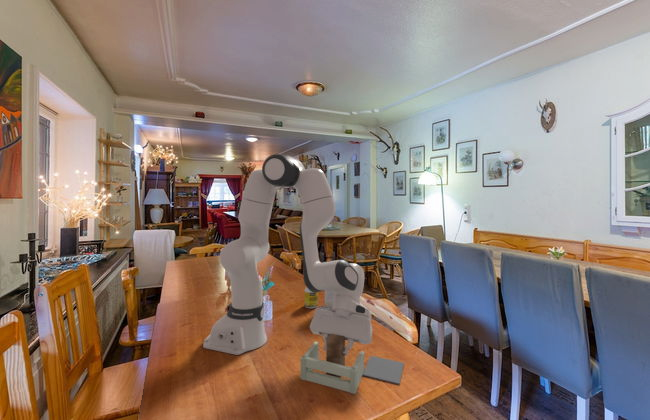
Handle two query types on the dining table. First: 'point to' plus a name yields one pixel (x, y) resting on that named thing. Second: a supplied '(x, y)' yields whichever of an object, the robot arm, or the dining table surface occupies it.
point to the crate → (331, 371)
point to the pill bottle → (311, 298)
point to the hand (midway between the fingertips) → (335, 352)
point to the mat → (384, 369)
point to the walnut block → (335, 350)
